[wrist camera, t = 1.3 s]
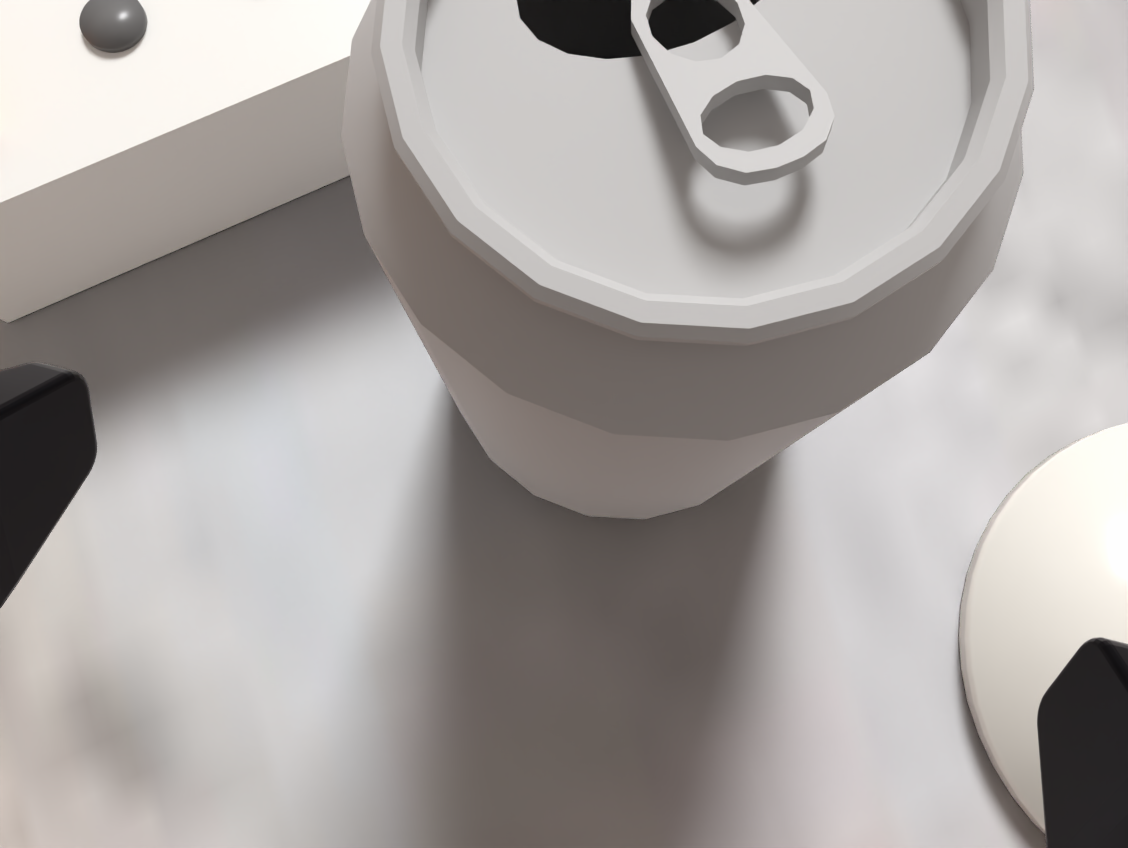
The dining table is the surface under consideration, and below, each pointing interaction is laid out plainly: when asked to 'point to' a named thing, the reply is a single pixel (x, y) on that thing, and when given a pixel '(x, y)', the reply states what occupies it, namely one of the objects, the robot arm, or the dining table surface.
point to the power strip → (157, 128)
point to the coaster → (1043, 597)
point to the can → (679, 216)
